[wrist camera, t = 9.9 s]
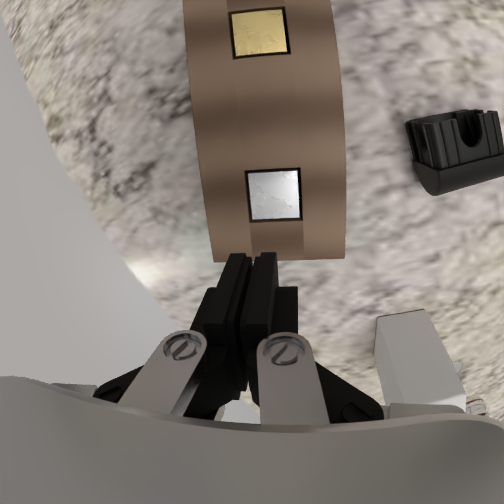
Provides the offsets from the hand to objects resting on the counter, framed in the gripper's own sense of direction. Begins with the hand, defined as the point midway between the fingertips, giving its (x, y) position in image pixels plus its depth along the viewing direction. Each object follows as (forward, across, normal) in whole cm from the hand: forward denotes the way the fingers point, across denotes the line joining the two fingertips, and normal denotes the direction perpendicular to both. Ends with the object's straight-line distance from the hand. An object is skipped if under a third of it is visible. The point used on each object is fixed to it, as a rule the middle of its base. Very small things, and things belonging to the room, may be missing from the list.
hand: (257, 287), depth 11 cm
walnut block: (+21, 0, -6) cm, 22 cm away
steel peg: (+20, 0, +1) cm, 21 cm away
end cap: (+21, -19, -3) cm, 28 cm away
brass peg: (+21, 0, -13) cm, 25 cm away
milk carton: (+20, -16, +22) cm, 34 cm away
